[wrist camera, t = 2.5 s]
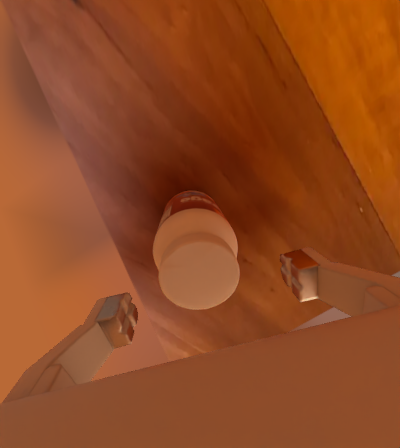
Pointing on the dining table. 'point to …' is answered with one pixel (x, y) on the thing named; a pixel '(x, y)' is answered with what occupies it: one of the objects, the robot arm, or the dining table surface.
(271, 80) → the dining table surface
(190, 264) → the pill bottle
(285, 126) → the dining table surface
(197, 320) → the dining table surface
